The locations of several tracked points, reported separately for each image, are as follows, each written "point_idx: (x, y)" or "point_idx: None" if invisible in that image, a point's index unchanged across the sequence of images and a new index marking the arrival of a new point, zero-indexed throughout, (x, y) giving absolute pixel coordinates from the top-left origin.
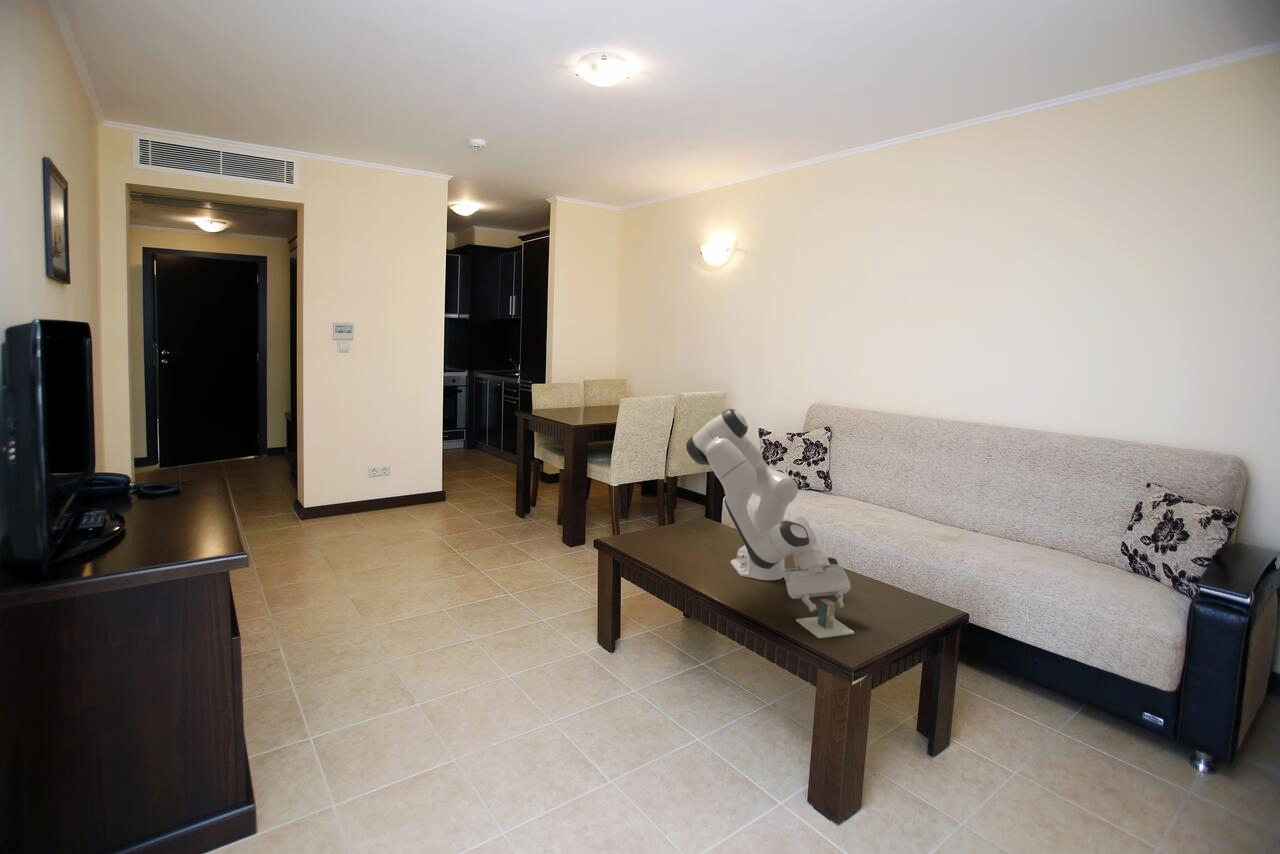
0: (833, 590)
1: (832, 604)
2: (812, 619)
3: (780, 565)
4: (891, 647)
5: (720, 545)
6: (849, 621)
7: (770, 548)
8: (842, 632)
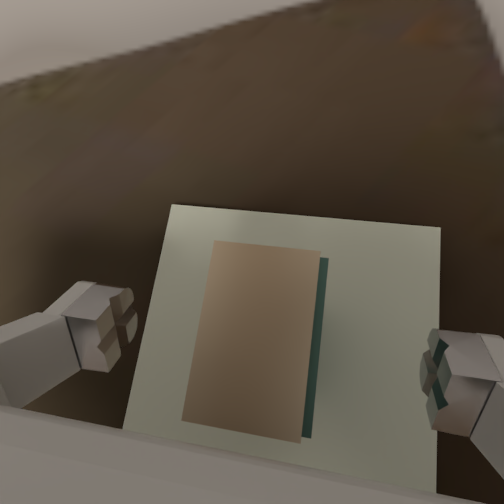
0: (19, 410)
1: (253, 244)
2: None
3: None
4: (126, 52)
5: None
6: None
7: None
8: (247, 221)
